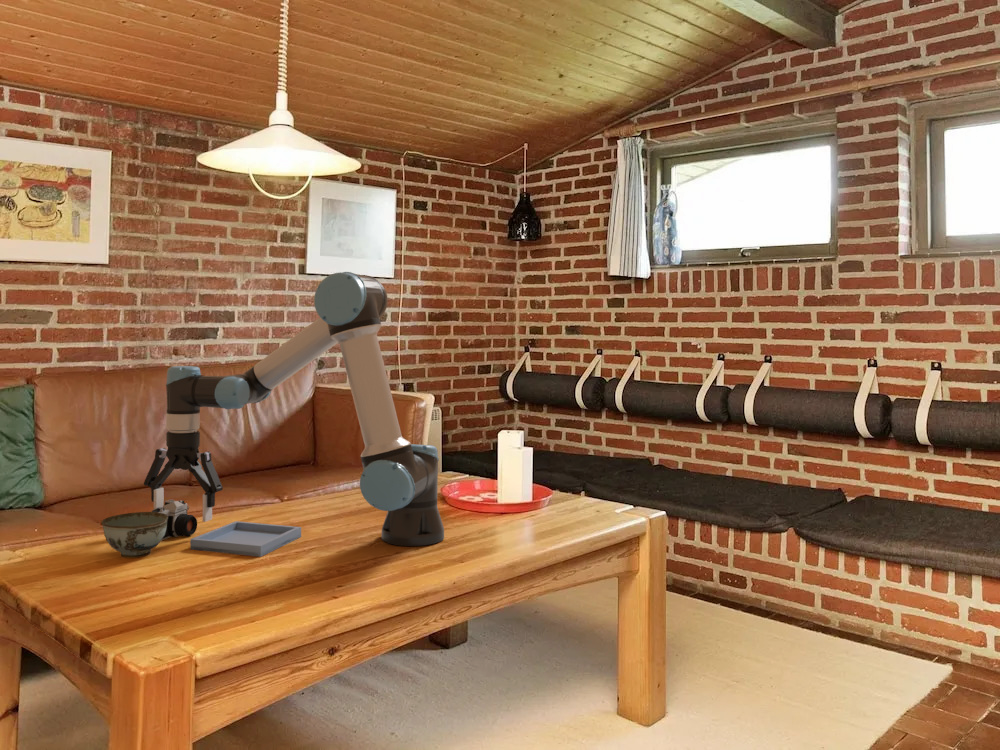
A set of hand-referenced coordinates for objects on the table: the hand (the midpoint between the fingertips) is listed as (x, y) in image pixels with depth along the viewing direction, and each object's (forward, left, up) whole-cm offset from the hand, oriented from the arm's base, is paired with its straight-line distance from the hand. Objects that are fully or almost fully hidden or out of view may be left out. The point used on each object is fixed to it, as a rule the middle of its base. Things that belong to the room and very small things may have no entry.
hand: (182, 517), depth 199 cm
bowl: (0, +17, -5) cm, 17 cm away
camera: (+1, +1, -5) cm, 5 cm away
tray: (-18, +1, -4) cm, 19 cm away
